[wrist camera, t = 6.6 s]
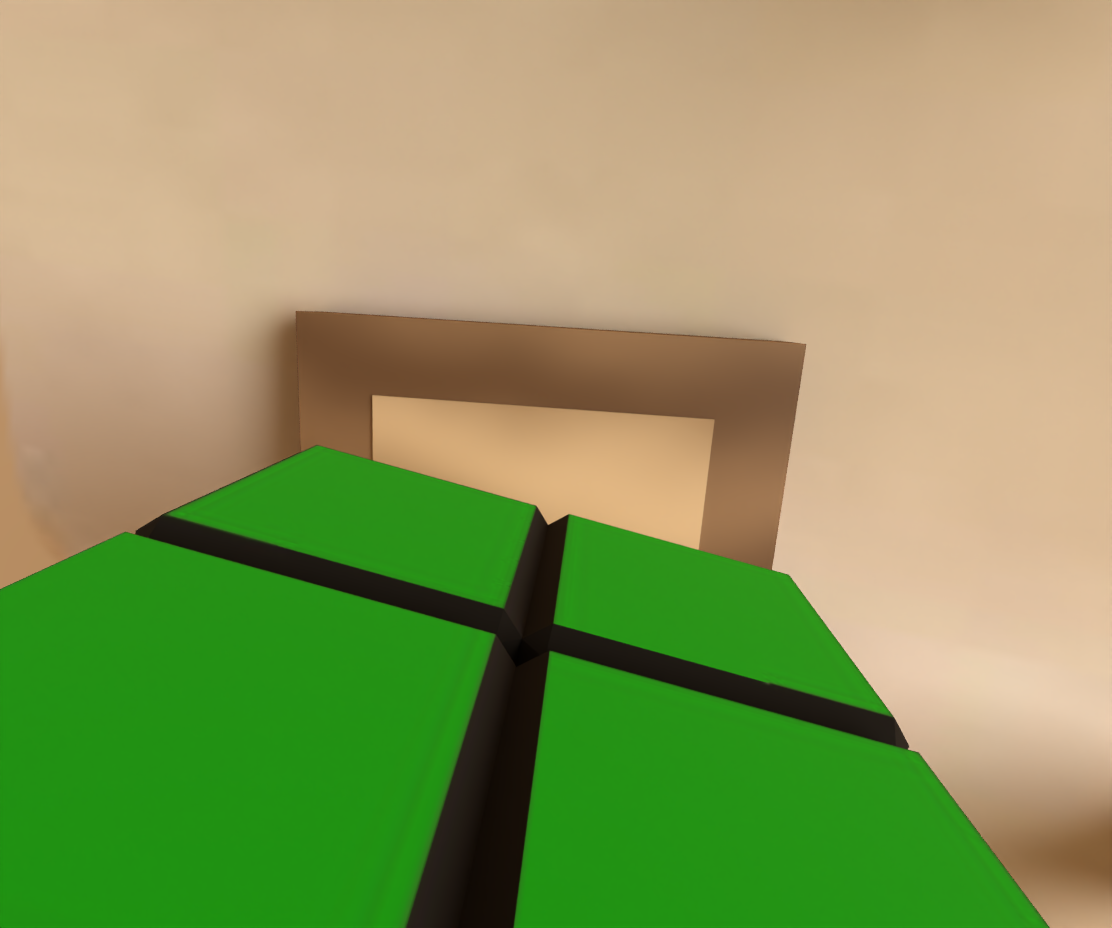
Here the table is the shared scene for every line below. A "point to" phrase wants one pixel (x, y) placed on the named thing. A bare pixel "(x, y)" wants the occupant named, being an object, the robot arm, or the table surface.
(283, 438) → the table surface
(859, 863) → the puzzle cube
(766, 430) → the walnut board
